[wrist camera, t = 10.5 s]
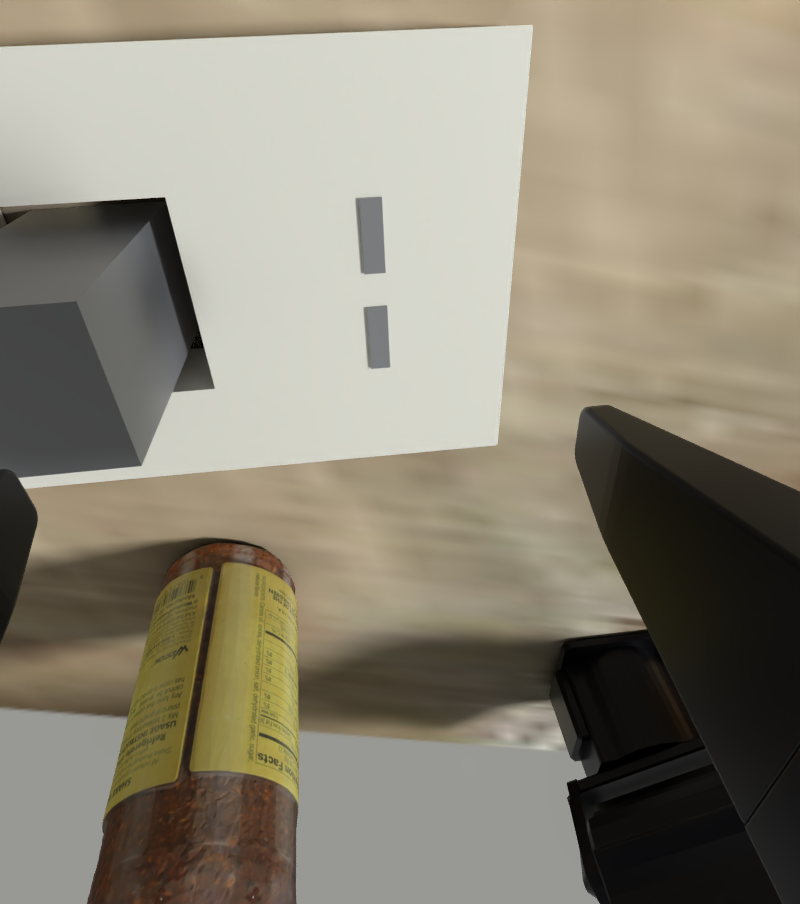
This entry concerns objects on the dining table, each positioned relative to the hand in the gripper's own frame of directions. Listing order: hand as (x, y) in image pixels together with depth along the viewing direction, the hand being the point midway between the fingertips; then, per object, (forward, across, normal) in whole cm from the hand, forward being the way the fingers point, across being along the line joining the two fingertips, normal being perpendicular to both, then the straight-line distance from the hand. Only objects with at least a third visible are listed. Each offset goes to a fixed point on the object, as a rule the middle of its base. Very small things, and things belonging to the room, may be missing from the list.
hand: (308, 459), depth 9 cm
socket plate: (+12, +3, 0) cm, 12 cm away
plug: (+12, +6, 0) cm, 13 cm away
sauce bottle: (+12, +6, +15) cm, 20 cm away
